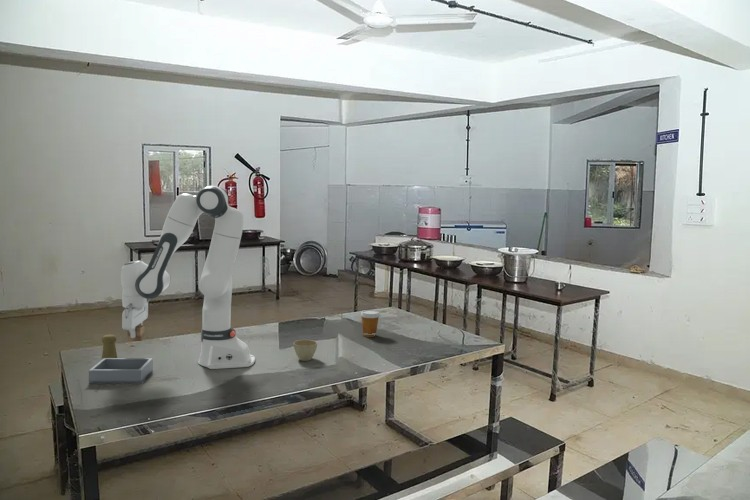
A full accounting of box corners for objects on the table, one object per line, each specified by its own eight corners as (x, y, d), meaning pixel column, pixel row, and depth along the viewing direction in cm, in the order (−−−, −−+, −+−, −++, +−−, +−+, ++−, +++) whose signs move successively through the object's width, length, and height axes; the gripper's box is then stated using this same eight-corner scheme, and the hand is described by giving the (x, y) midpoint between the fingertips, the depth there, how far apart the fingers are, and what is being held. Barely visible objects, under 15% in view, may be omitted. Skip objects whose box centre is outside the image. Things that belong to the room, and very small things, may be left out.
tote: (152, 370, 212) (152, 358, 212) (141, 383, 198) (141, 370, 198) (104, 370, 210) (103, 358, 210) (89, 383, 197) (88, 370, 196)
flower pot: (321, 357, 236) (321, 341, 235) (308, 364, 227) (309, 347, 226) (301, 354, 240) (301, 338, 239) (288, 360, 231) (288, 343, 230)
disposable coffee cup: (378, 338, 269) (379, 314, 268) (359, 337, 269) (360, 313, 268) (379, 333, 278) (379, 310, 277) (360, 332, 279) (361, 309, 277)
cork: (111, 364, 218) (110, 337, 216) (97, 363, 219) (97, 336, 217) (121, 360, 223) (120, 333, 222) (108, 358, 225) (107, 332, 223)
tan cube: (144, 337, 223) (144, 325, 222) (140, 340, 218) (140, 328, 217) (132, 337, 222) (131, 325, 222) (127, 341, 217) (127, 328, 217)
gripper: (133, 306, 208) (135, 342, 210) (150, 296, 229) (152, 328, 230) (116, 307, 208) (118, 342, 209) (134, 296, 228) (136, 329, 230)
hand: (136, 335), depth 220 cm, fingers closed on tan cube, 5 cm apart
